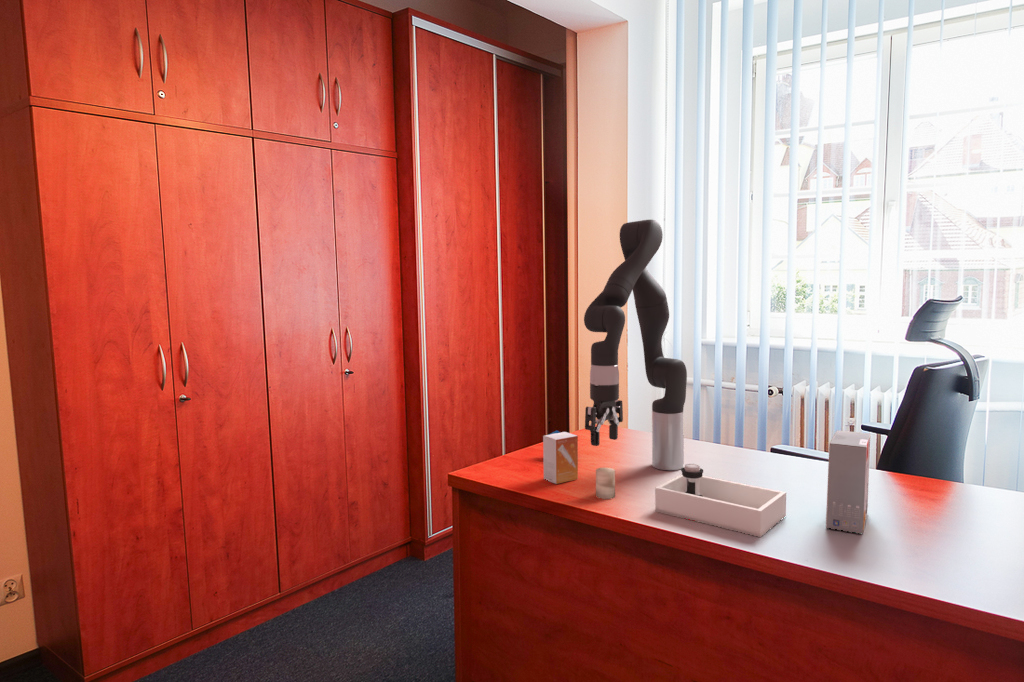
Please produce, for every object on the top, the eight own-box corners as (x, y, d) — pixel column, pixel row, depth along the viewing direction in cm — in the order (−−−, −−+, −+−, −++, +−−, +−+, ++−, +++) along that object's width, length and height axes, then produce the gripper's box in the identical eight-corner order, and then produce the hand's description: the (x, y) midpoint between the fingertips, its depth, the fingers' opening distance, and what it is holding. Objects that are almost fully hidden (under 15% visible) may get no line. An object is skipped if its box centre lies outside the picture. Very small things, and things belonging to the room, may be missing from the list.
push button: (712, 506, 161) (712, 466, 160) (700, 511, 157) (700, 471, 156) (688, 499, 166) (688, 461, 165) (676, 505, 162) (676, 466, 161)
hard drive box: (863, 535, 143) (866, 447, 141) (825, 529, 147) (827, 443, 145) (868, 513, 156) (870, 432, 154) (833, 508, 160) (835, 428, 158)
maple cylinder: (602, 491, 176) (602, 466, 175) (618, 495, 173) (618, 469, 172) (592, 496, 172) (592, 470, 172) (608, 500, 169) (608, 474, 168)
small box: (556, 484, 182) (555, 439, 181) (543, 479, 188) (542, 435, 187) (578, 479, 187) (578, 435, 186) (565, 474, 192) (564, 431, 191)
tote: (685, 494, 172) (685, 472, 172) (785, 516, 155) (786, 492, 154) (655, 511, 160) (655, 487, 160) (760, 537, 143) (760, 511, 142)
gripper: (607, 377, 177) (607, 435, 179) (576, 383, 167) (576, 445, 168) (631, 379, 172) (631, 439, 174) (601, 386, 162) (600, 450, 163)
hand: (604, 442), depth 171 cm, fingers open, 8 cm apart
